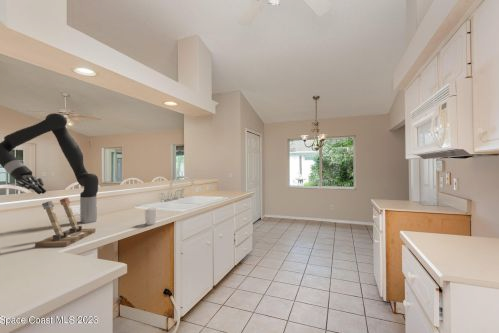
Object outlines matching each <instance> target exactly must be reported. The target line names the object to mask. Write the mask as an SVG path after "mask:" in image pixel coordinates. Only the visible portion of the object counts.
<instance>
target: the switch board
mask: <svg viewBox="0 0 499 333" xmlns="http://www.w3.org/2000/svg"><path fill="white" fill-rule="evenodd" d="M78 227H79V230H77V228H72V227H71V228H69V229H67V230H65V231H62V232H63V233H64V236H63V237H61V235H56V234H54V235H52V236H48V237H47V238H44V239H42V240H39V241H37V242H35V243H34V248H56V247H57V248H58V247H61V248H63V247H69V246H70V244H71V245H72V243H73V244H74V243H76V242H78V241H80V240H82V239H84V238H86V237H88V236H90V235H92V234H95V233H96V228H83V226H82V225H78ZM62 246H63V247H62Z"/></svg>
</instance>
